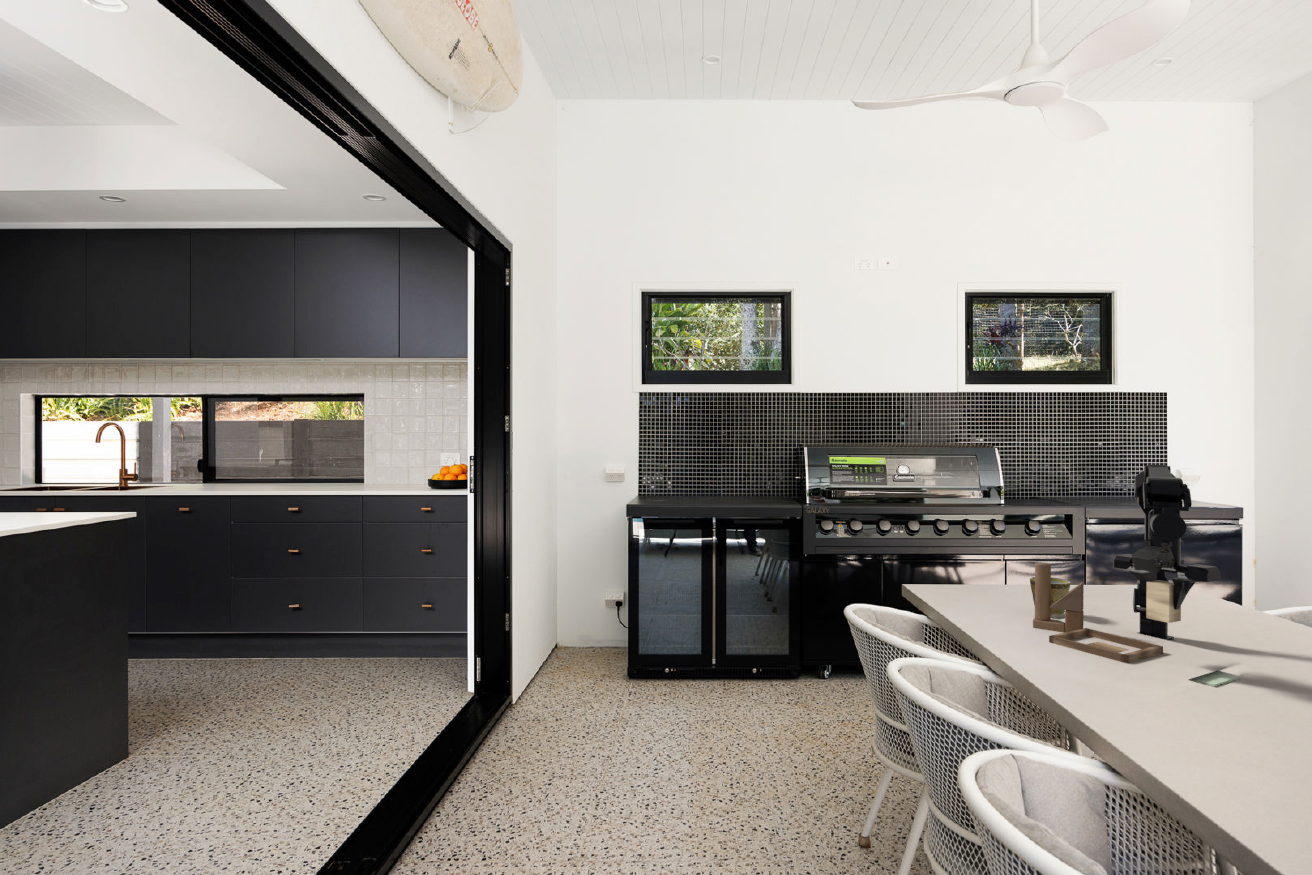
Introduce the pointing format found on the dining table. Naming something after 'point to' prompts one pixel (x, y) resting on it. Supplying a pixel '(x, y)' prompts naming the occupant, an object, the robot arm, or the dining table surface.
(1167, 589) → the beech block
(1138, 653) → the wooden rectangular frame
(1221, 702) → the dining table surface
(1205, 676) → the green mat
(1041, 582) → the wooden block structure
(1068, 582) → the yellow green glass cup
